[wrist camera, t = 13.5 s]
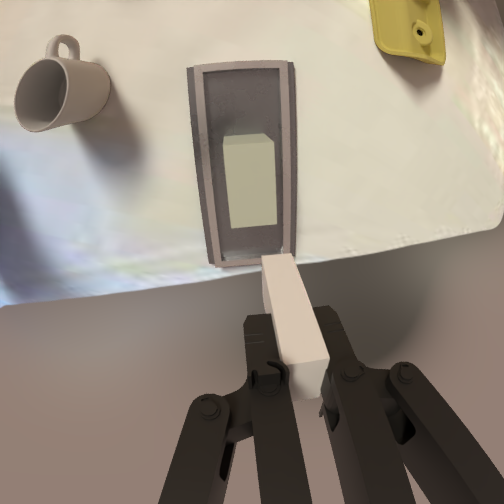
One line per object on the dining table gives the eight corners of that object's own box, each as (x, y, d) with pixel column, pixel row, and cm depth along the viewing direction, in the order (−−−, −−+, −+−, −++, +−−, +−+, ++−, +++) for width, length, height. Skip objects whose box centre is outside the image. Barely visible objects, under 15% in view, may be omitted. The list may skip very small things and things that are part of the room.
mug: (111, 115, 29) (70, 125, 20) (61, 125, 29) (14, 140, 19) (113, 34, 23) (75, 17, 14) (62, 49, 23) (16, 43, 13)
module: (230, 204, 37) (231, 230, 30) (223, 136, 32) (222, 146, 25) (267, 201, 37) (277, 226, 30) (263, 133, 32) (274, 142, 25)
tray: (209, 260, 42) (208, 268, 40) (187, 68, 28) (185, 66, 26) (293, 253, 43) (296, 260, 41) (291, 63, 28) (295, 60, 26)
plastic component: (446, 67, 26) (421, 56, 22) (407, 62, 31) (375, 53, 27) (430, -35, 14) (398, -61, 10) (393, -33, 19) (357, -54, 16)
